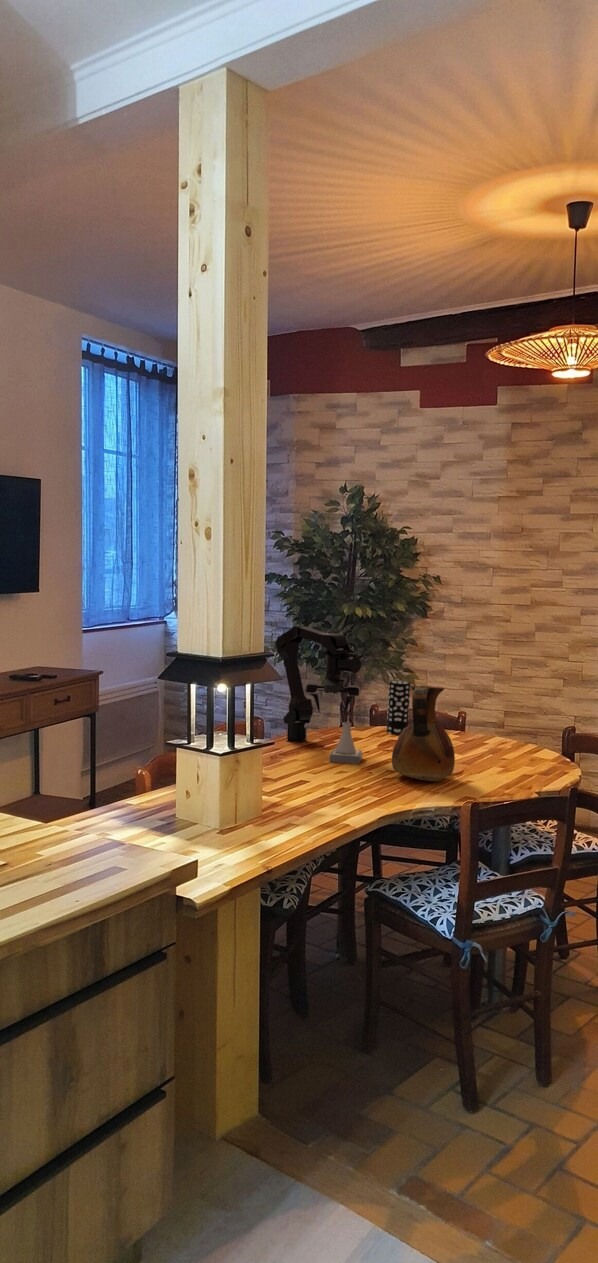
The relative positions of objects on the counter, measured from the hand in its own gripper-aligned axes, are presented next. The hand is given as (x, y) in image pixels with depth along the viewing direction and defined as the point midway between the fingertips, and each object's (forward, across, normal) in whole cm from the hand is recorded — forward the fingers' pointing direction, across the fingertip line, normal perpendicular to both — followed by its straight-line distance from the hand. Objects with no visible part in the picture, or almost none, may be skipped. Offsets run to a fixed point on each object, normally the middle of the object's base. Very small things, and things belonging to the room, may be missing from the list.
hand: (332, 713), depth 328 cm
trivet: (+13, +7, -14) cm, 21 cm away
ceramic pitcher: (+13, +33, -32) cm, 48 cm away
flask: (+11, +7, -14) cm, 19 cm away
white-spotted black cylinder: (+13, +22, +39) cm, 47 cm away
